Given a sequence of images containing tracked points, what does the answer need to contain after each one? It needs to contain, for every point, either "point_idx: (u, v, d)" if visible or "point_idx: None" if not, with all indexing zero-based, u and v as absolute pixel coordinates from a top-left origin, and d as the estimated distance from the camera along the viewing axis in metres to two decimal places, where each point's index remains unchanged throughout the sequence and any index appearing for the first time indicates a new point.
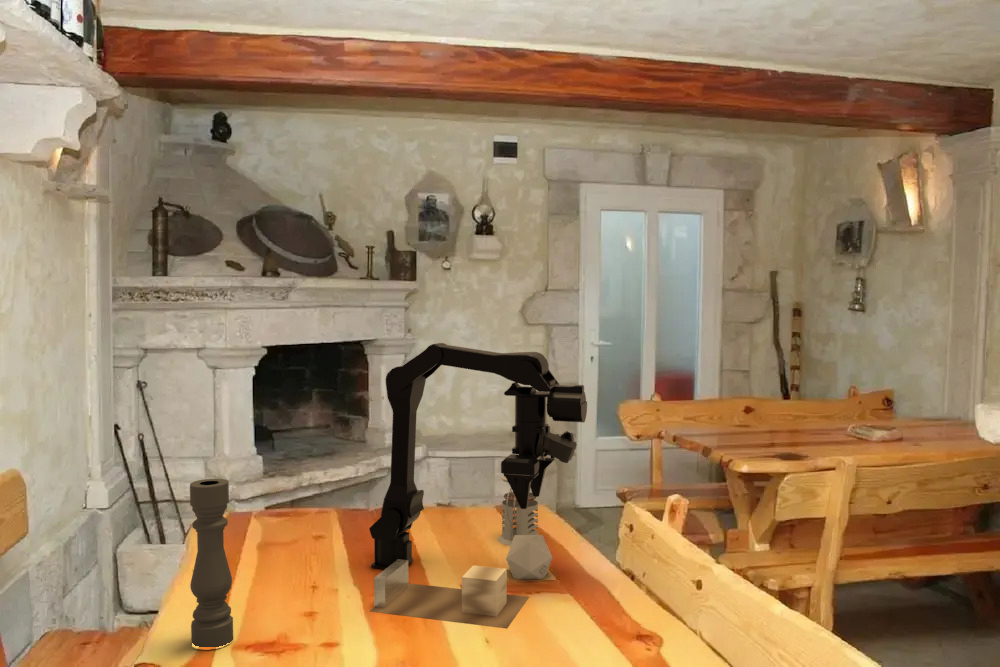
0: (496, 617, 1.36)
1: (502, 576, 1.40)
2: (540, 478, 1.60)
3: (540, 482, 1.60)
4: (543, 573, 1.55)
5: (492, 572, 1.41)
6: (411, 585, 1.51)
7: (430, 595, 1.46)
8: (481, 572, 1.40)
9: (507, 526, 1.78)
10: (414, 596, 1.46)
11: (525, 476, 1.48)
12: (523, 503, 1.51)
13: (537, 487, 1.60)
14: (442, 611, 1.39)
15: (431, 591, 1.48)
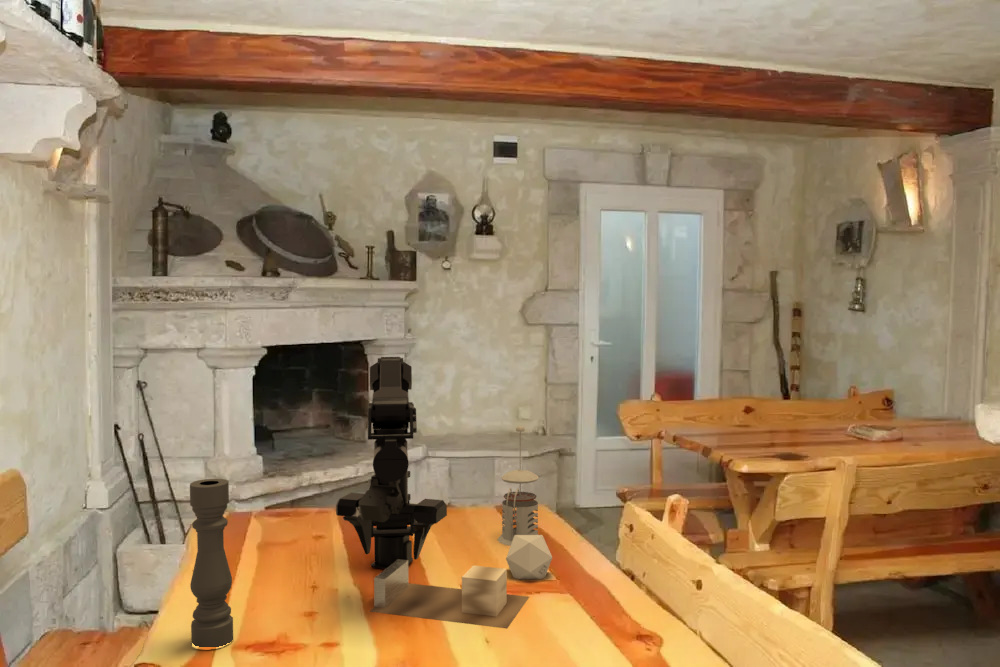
0: (496, 617, 1.36)
1: (502, 576, 1.40)
2: None
3: (414, 544, 1.43)
4: (543, 573, 1.55)
5: (492, 572, 1.41)
6: (411, 585, 1.51)
7: (430, 595, 1.46)
8: (481, 572, 1.40)
9: (507, 526, 1.78)
10: (414, 596, 1.46)
11: None
12: None
13: None
14: (442, 611, 1.39)
15: (431, 591, 1.48)
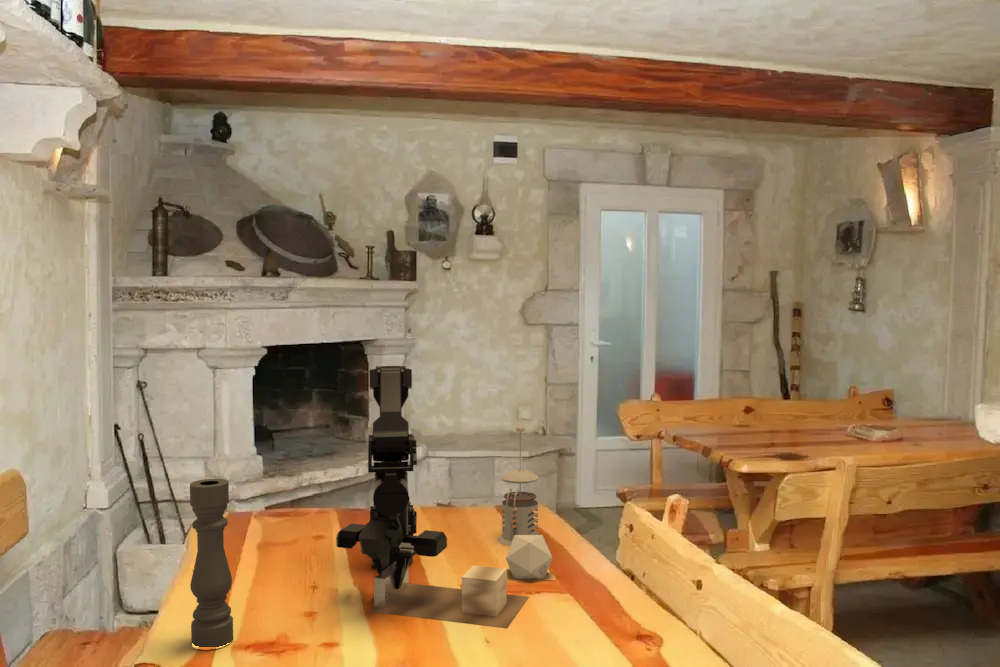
0: (496, 617, 1.36)
1: (502, 576, 1.40)
2: None
3: (396, 574, 1.44)
4: (543, 573, 1.55)
5: (492, 572, 1.41)
6: (411, 585, 1.51)
7: (430, 595, 1.46)
8: (481, 572, 1.40)
9: (507, 526, 1.78)
10: (414, 596, 1.46)
11: None
12: None
13: None
14: (442, 611, 1.39)
15: (431, 591, 1.48)
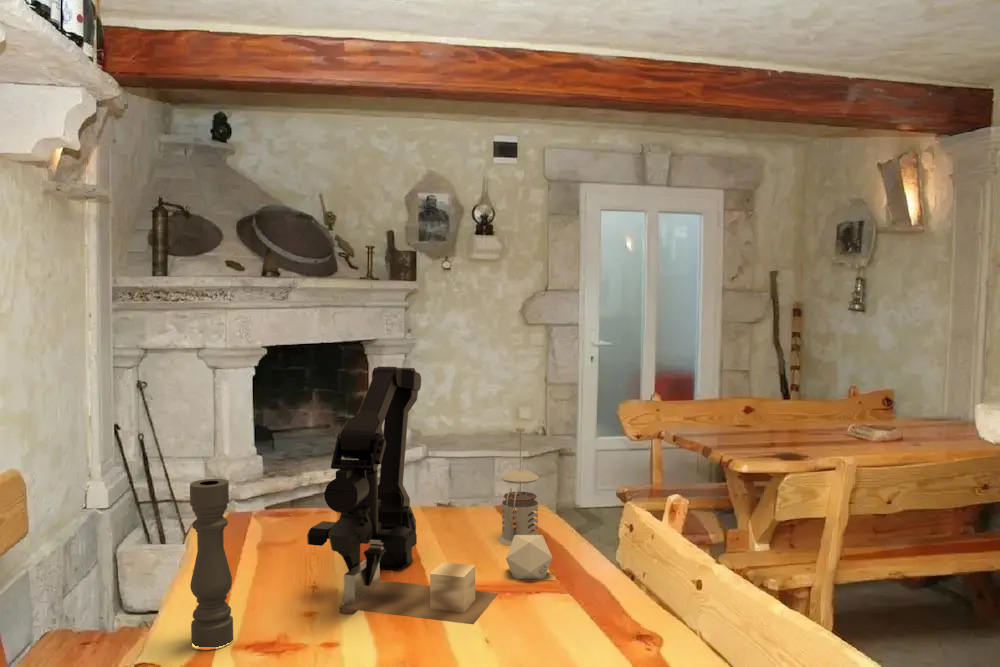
0: (463, 613, 1.38)
1: (470, 573, 1.42)
2: None
3: (366, 571, 1.46)
4: (543, 573, 1.55)
5: (461, 569, 1.42)
6: (382, 582, 1.53)
7: (400, 592, 1.48)
8: (450, 569, 1.42)
9: (507, 526, 1.78)
10: (384, 593, 1.47)
11: None
12: None
13: None
14: (410, 607, 1.41)
15: (402, 587, 1.50)
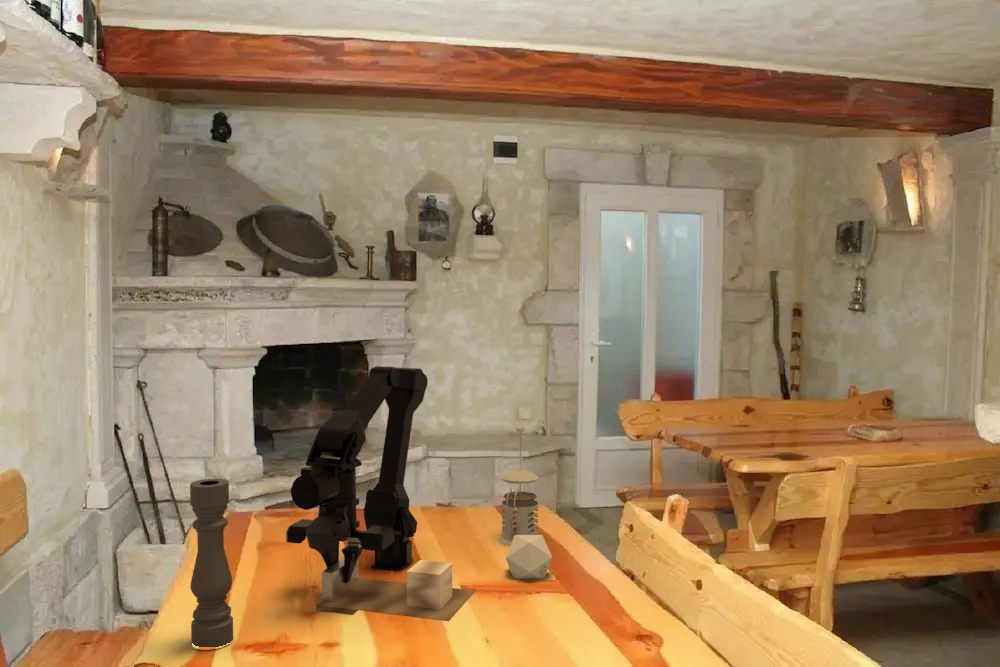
0: (440, 610, 1.39)
1: (447, 570, 1.43)
2: None
3: None
4: (543, 573, 1.55)
5: (438, 566, 1.43)
6: (361, 579, 1.54)
7: (378, 589, 1.49)
8: (427, 566, 1.43)
9: (507, 526, 1.78)
10: (363, 590, 1.48)
11: None
12: None
13: None
14: (387, 604, 1.42)
15: (380, 585, 1.51)
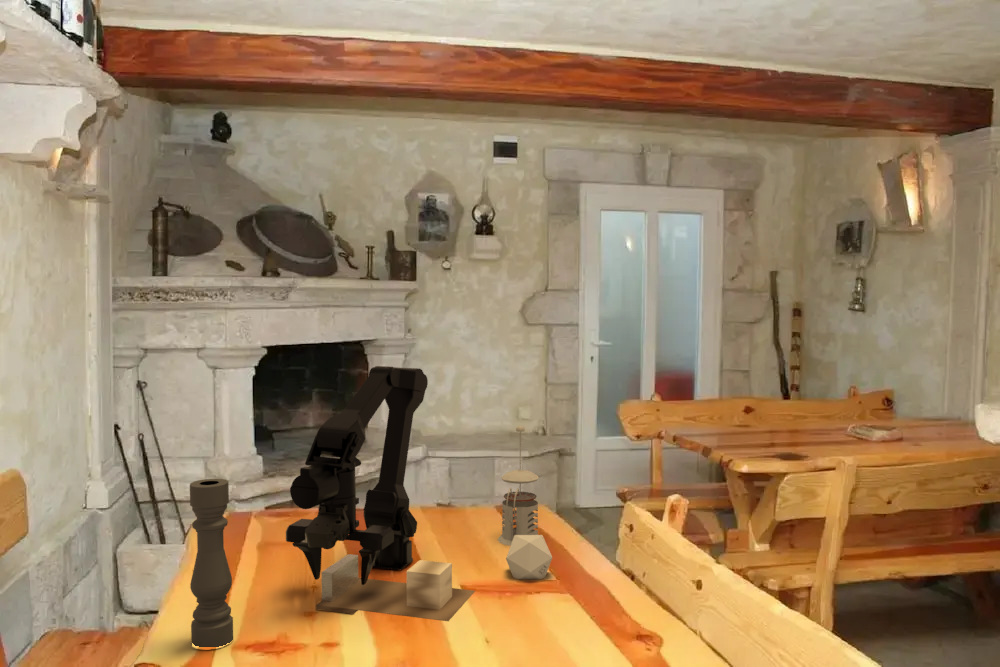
0: (439, 610, 1.39)
1: (446, 570, 1.43)
2: None
3: None
4: (543, 573, 1.55)
5: (437, 566, 1.43)
6: None
7: (378, 589, 1.49)
8: (426, 566, 1.43)
9: (507, 526, 1.78)
10: (362, 590, 1.49)
11: None
12: None
13: None
14: (387, 604, 1.42)
15: (380, 585, 1.51)
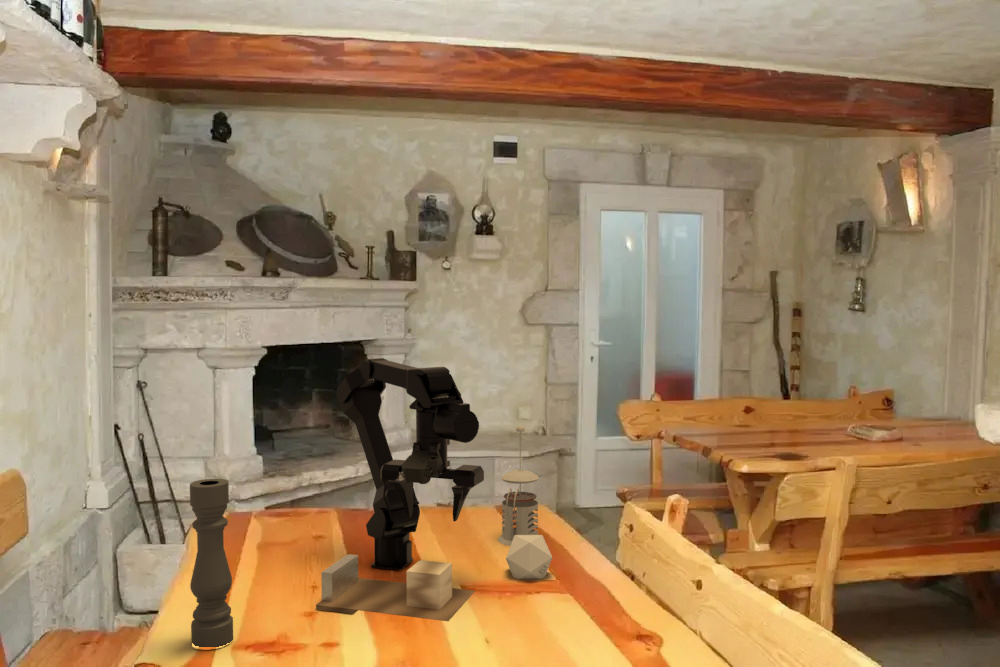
0: (439, 610, 1.39)
1: (446, 570, 1.43)
2: None
3: (453, 507, 1.52)
4: (543, 573, 1.55)
5: (437, 566, 1.43)
6: (361, 579, 1.54)
7: (378, 589, 1.49)
8: (426, 566, 1.43)
9: (507, 526, 1.78)
10: (362, 590, 1.49)
11: None
12: None
13: None
14: (387, 604, 1.42)
15: (380, 585, 1.51)
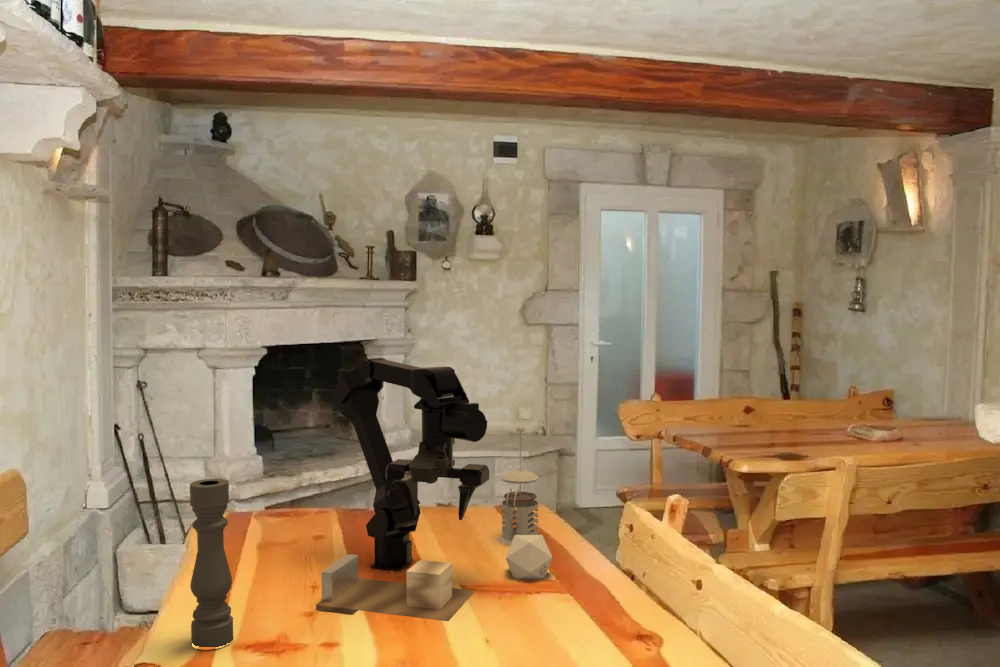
0: (439, 610, 1.39)
1: (446, 570, 1.43)
2: None
3: (459, 506, 1.53)
4: (543, 573, 1.55)
5: (437, 566, 1.43)
6: (361, 579, 1.54)
7: (378, 589, 1.49)
8: (426, 566, 1.43)
9: (507, 526, 1.78)
10: (362, 590, 1.49)
11: None
12: None
13: None
14: (387, 604, 1.42)
15: (380, 585, 1.51)
